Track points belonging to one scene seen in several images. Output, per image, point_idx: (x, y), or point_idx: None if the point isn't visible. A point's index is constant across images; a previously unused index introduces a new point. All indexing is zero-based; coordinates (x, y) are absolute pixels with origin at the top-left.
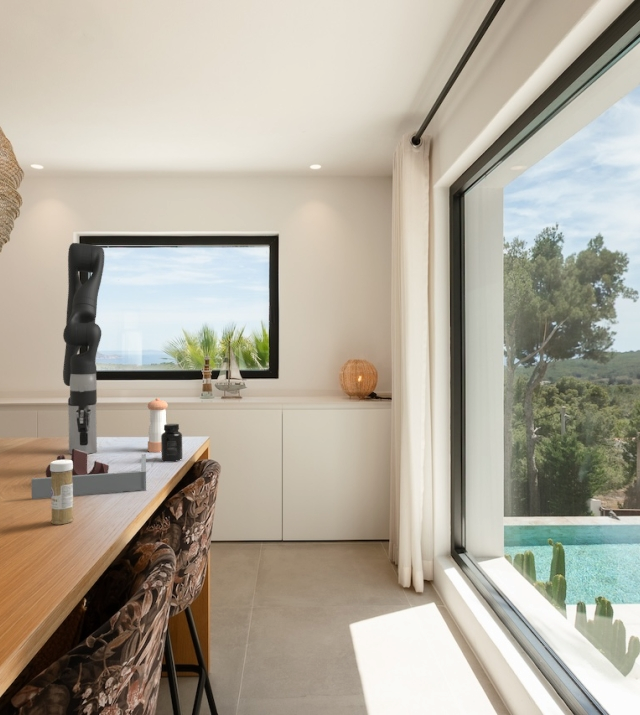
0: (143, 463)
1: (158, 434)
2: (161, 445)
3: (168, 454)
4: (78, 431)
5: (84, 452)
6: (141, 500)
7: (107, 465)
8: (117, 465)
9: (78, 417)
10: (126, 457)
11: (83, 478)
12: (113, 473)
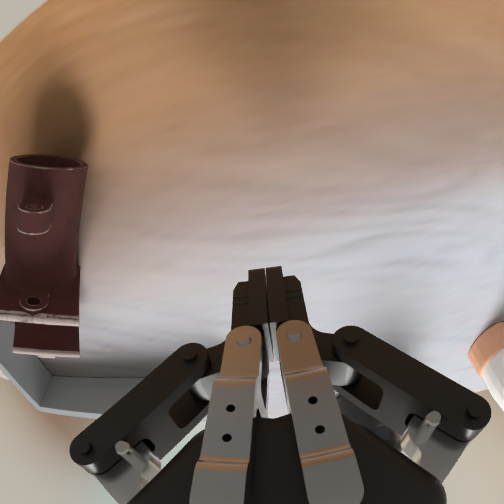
0: None
1: (492, 385)
2: (369, 420)
3: None
4: (176, 352)
5: (59, 324)
6: None
7: (73, 355)
8: (342, 300)
9: (85, 469)
10: (457, 294)
11: None
12: (2, 368)
